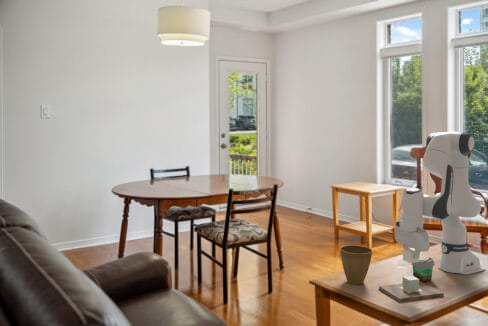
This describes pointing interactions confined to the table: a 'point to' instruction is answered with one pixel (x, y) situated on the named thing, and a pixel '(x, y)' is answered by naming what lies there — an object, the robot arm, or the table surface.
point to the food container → (423, 270)
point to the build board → (404, 295)
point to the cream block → (410, 255)
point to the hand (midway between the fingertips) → (411, 256)
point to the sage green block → (410, 283)
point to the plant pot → (355, 262)
